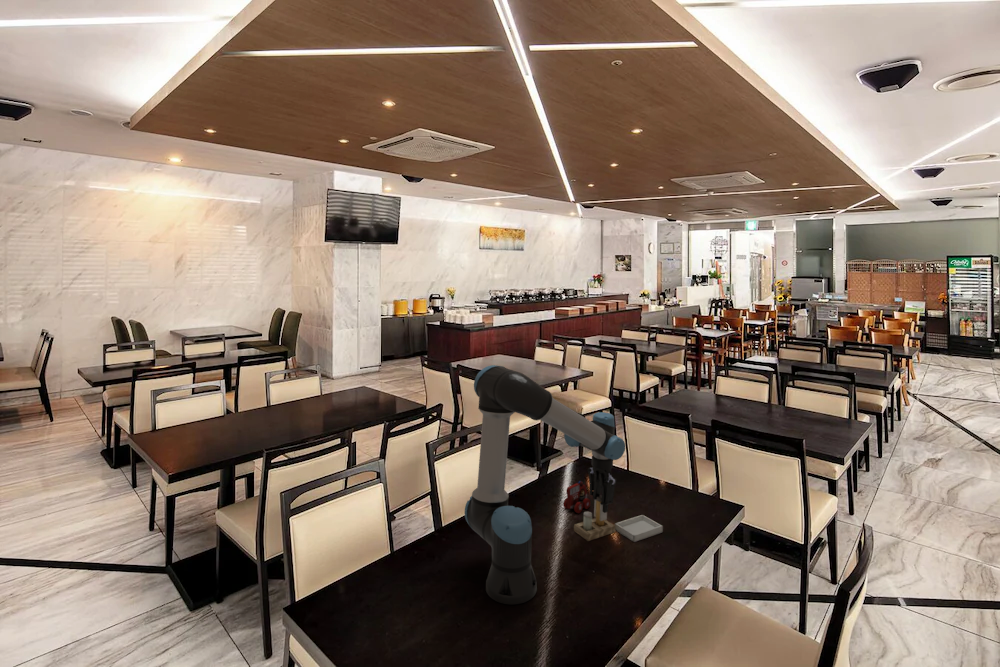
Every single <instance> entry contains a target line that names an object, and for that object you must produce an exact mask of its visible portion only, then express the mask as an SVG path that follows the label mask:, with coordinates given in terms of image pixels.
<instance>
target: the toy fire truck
mask: <svg viewBox="0 0 1000 667" xmlns="http://www.w3.org/2000/svg"><path fill="white" fill-rule="evenodd" d="M566 495H567V496H566V498H565V499H564V501H563V507H564V509H567V510H572V509H573V510H574V512H575V513H577V514H581V512H583V509H585V510H588V509H589V508H590V507H591V499H590V498H588V491H587V488H586V484H584V482H583V481H582V480H579V481H578V482H576V483H573V484H572V485H570V486H568V487H567V488H566Z"/></svg>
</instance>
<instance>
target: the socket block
mask: <svg viewBox="0 0 1000 667" xmlns="http://www.w3.org/2000/svg"><path fill="white" fill-rule="evenodd" d="M583 523H584V521H581V522H578V523H574V525H573V531H574V532H575V533H576V534H577V535H579V536H580V537H582V539H585V540H586V541H587V542H590V541H593V540H596V539H599V538H602V537H604V536H608V535H610V534H614V533H616V530H615V524H613V523H612V522H610V521H608V520H607V519H606V520H604V526H602V527H599V526H598V525H596V517H594V518H592V530H589V531H586V530H584V529H583Z"/></svg>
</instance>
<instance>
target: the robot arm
mask: <svg viewBox="0 0 1000 667" xmlns="http://www.w3.org/2000/svg"><path fill="white" fill-rule="evenodd" d="M473 391H474V392H475V395H476V396H477V397H478V410H479V411H480V413H481V414H482V422H481V433H480V434H481V436H480V445H479V446H480V448H479V449H480V450H479V460H478V461H479V463H478V475H477V487H476V488H475V489H474V490H472V492H471V496H470V497H469V500H467V501H466V504H465V506H464V518H465V522H467V524H468V526H469V527H470V528H471V530H472V531H474V533H476V534H477V535H478V536H480V538H482V539H483V541H485V542H486V543H487V544H488V545H489V546H490V547H491V565H490V569H489V571H488V573H487V574H488V575H487V577H486V579H485V591H486V594H487V595H488V597H489V598H490V599H492V600H493V601H495V602H498V603H500V604H504V605H510V606H511V605H521V604H523V603H526V602H529V601H531V600H532V599H533V598H534V597H535V595H537V594H536V593H537V591H538V588H537V586H538V585H537V583H538V582H537V579H536V574H535V572H534V569H533V566H532V534H533V526H532V519H531V517H530V515H529V514H528V512H527V511H525V510H524V509H523V508H521V507H518V506H517V507H515V505H514V506H513V505H509V498H510V497H509V495H510V494H509V493H508V492H507V491H506V490H505V484H506V473H507V463H508V462H507V461H508V459H507V458H508V448H509V437H510V436H509V435H510V422H511V416H512V415H513V414H515V413H517V414H519V415H522V416H525V417H527V418H529V419H531V420H532V421H541V422H543V423H544V424H547V425H548V426H550V427H552V428H554V429H556V430H557V431H559V432H561V433H562V434H563V437H564V441H565V444H567V446H568V447H571V448H575V447H576V448H578V447H583V448H585V449H587V450H590V451H591V455H592V456H591V466H592V467H588V468H587V473H588V483H589V484H588V485H589V486H588V487H589V496H592V499H593V507H594V508H593V517H594V518H596V507H597V496H602V502H601V503H600V521H603V520H607V519H608V511H609V505H610V504H613V502H614V495H615V487H616V484H617V481H618V479H617V478H614V477H613V476H612V469H613V466H614V461H617V460H619V459H621V458H622V457H623V455H624V453H625V452H626V451H625V450H626V442H625V440H624V439H623V438H621V437H619V436H618V435H615V426H616V425H615V417H614V415H613V414H612V413H610V412H609V413H608V412H602V411H601V412H595V413H594V414H593V416H592V420H589V419H587V417H585V416H583V415H582V414H580V413H578V412H577V411H574V410H573V409H572V408H570V407H569V406H567V405H565V404H563V403H561V402H560V401H559V400H557V399H555V398H554V397H553V394H552V393H551V392H550V391H549V390H547V389H546V388H545V387H543V386H542V385H540V384H539V383H537V382H536V381H534V380H533V379H532V378H531V377H529V376H527V375H526V374H524V373H522V372H519V371H515V370H513V369H509V368H507V367H505V366H501V365H495V364H493V365H487V366H485V367H482V369H481V370H480V371H479V372H478V373H477V374H476V376H475V378H474V381H473Z"/></svg>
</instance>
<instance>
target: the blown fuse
mask: <svg viewBox="0 0 1000 667" xmlns="http://www.w3.org/2000/svg"><path fill="white" fill-rule="evenodd" d="M601 502H602V495H600V496H597V507H596V517H595V518H596V525H598V526H599V527H602V526H604V520H603V521H600V503H601Z"/></svg>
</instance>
